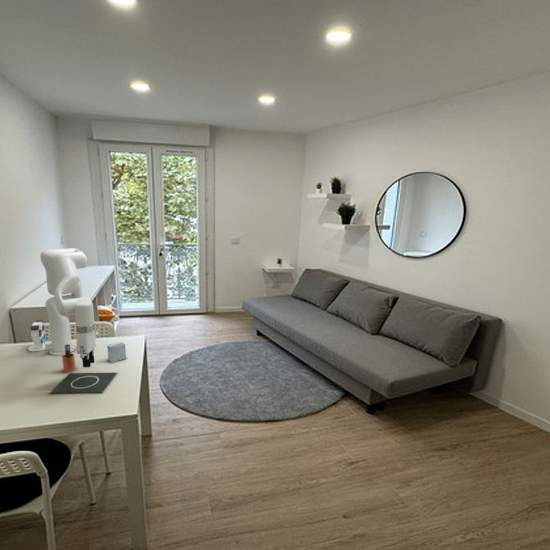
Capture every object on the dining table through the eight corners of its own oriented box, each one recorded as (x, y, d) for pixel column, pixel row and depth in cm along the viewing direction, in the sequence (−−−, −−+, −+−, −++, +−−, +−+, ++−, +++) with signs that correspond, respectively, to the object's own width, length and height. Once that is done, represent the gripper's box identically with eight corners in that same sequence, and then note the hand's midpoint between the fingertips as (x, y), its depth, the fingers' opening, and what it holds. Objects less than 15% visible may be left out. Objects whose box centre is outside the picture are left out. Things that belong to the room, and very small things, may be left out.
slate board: (50, 393, 156) (50, 392, 155) (69, 374, 173) (69, 373, 173) (101, 392, 158) (101, 391, 157) (116, 373, 175) (116, 372, 175)
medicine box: (123, 356, 194) (122, 341, 193) (126, 358, 191) (125, 343, 190) (108, 360, 189) (107, 345, 187) (111, 363, 186) (110, 347, 184)
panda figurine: (48, 350, 199) (45, 325, 196) (24, 352, 195) (21, 327, 192) (53, 342, 210) (50, 318, 207) (30, 344, 206) (27, 320, 203)
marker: (66, 370, 176) (63, 346, 173) (68, 368, 178) (65, 344, 175) (70, 370, 176) (68, 346, 173) (73, 368, 178) (70, 344, 175)
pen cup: (61, 373, 174) (60, 358, 172) (66, 368, 179) (65, 353, 178) (72, 372, 175) (71, 357, 173) (77, 368, 180) (76, 353, 178)
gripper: (85, 321, 170) (88, 357, 174) (68, 334, 154) (72, 373, 157) (101, 321, 170) (103, 357, 174) (86, 334, 154) (89, 373, 158)
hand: (88, 364), depth 166 cm, fingers open, 3 cm apart
